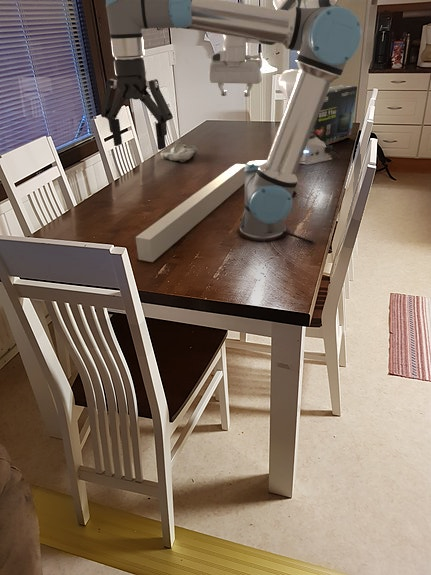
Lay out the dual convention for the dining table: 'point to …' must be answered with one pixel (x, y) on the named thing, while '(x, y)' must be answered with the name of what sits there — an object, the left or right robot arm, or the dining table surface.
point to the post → (188, 214)
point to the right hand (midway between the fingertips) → (235, 96)
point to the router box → (336, 113)
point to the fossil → (179, 152)
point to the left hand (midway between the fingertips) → (139, 146)
